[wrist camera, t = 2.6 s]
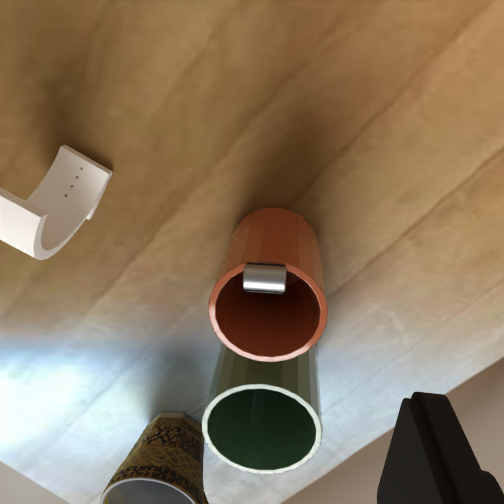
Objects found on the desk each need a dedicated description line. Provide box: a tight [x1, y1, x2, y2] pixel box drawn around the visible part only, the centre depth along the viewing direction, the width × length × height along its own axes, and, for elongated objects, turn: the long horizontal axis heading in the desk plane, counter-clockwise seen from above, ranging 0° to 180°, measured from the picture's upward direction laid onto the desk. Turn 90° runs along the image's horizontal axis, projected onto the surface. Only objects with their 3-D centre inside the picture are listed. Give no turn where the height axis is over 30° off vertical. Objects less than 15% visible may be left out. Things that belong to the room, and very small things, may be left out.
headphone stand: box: [0, 145, 112, 260], centre depth 34 cm, size 5×6×12 cm
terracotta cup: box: [209, 208, 328, 362], centre depth 35 cm, size 8×8×11 cm
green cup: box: [202, 341, 323, 474], centre depth 40 cm, size 10×10×11 cm
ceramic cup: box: [100, 412, 209, 504], centre depth 46 cm, size 13×10×10 cm
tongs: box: [243, 262, 287, 294], centre depth 30 cm, size 2×10×18 cm, turn 178°
